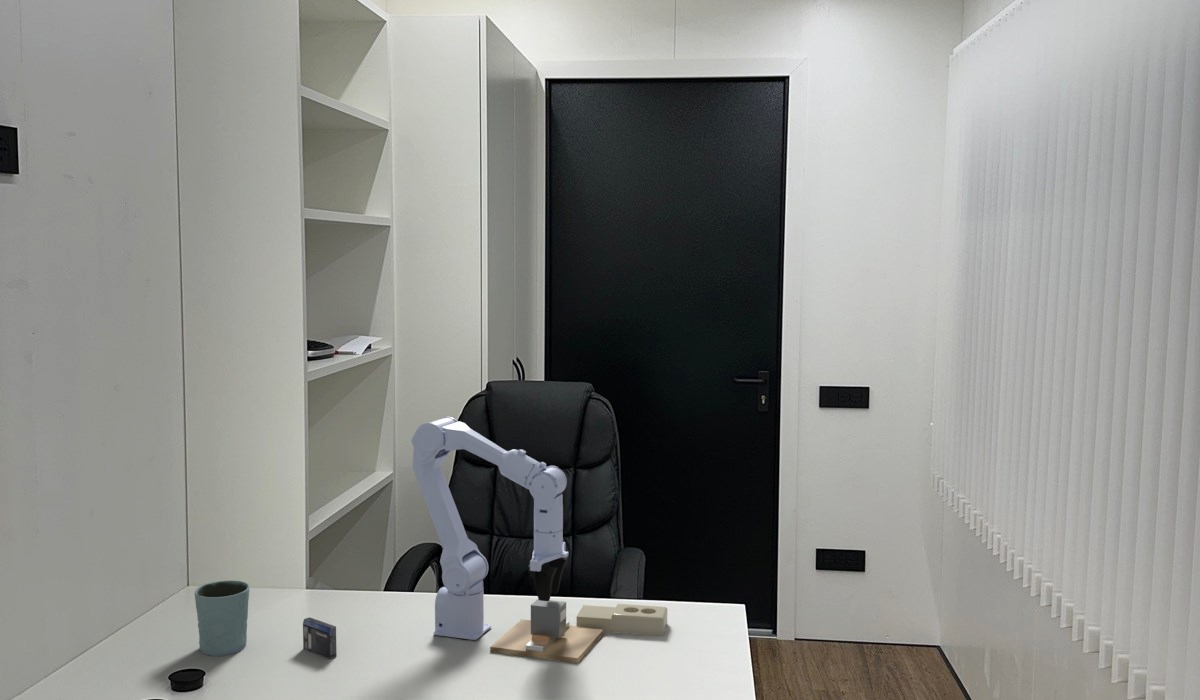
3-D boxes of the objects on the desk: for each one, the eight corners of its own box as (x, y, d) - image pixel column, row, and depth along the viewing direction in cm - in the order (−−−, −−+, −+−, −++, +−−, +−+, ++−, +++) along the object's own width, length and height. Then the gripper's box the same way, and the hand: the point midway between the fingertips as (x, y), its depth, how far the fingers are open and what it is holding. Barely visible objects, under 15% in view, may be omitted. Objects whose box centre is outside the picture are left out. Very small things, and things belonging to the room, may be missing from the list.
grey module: (530, 634, 202) (530, 605, 202) (538, 627, 206) (538, 598, 205) (559, 638, 200) (559, 608, 200) (566, 631, 204) (566, 602, 204)
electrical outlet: (583, 600, 217) (667, 606, 214) (583, 619, 218) (667, 625, 215) (576, 612, 210) (663, 618, 207) (576, 631, 211) (663, 637, 207)
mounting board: (490, 651, 199) (490, 646, 198) (521, 623, 214) (521, 619, 214) (577, 663, 193) (577, 658, 193) (603, 634, 208) (603, 629, 208)
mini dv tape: (303, 649, 200) (302, 619, 199) (309, 646, 201) (309, 617, 200) (330, 659, 195) (329, 628, 194) (336, 656, 196) (335, 626, 195)
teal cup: (230, 634, 207) (229, 576, 206) (262, 645, 201) (260, 586, 200) (185, 650, 199) (183, 590, 198) (216, 662, 193) (214, 600, 192)
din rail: (525, 650, 197) (525, 640, 197) (553, 624, 211) (553, 614, 211) (542, 652, 196) (542, 642, 195) (569, 626, 210) (569, 616, 210)
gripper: (554, 540, 193) (554, 610, 194) (579, 522, 207) (579, 587, 208) (519, 537, 195) (519, 606, 197) (547, 519, 209) (547, 584, 210)
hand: (548, 596), depth 203 cm, fingers open, 4 cm apart
